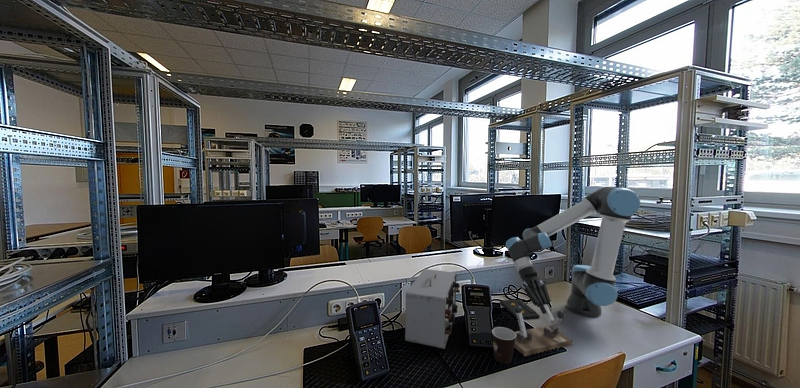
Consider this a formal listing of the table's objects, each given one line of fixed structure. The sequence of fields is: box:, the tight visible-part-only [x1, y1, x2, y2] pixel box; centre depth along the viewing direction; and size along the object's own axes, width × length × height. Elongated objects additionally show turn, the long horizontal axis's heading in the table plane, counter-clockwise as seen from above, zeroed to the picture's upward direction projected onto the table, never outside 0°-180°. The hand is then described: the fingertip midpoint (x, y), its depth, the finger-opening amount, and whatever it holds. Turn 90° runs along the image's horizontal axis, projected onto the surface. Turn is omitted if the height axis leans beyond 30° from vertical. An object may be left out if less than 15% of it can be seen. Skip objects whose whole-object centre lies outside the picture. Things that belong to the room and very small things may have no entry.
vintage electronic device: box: [404, 268, 461, 350], centre depth 128 cm, size 32×18×25 cm, turn 161°
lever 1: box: [514, 306, 528, 339], centre depth 118 cm, size 3×3×12 cm
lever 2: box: [549, 310, 566, 333], centre depth 118 cm, size 3×3×12 cm
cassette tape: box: [499, 298, 541, 321], centre depth 146 cm, size 18×12×2 cm, turn 8°
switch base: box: [513, 324, 573, 357], centre depth 119 cm, size 24×12×5 cm, turn 108°
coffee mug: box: [490, 326, 516, 365], centre depth 110 cm, size 12×9×10 cm
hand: (551, 321), depth 120 cm, fingers closed
